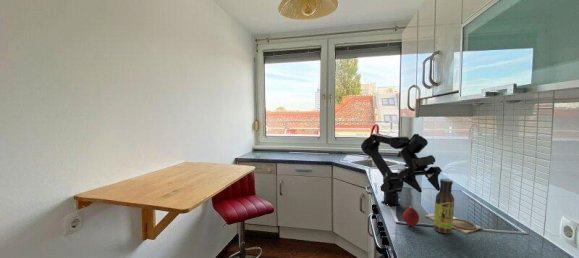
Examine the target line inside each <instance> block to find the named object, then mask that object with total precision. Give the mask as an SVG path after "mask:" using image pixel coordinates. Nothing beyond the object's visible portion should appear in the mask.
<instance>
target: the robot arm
mask: <svg viewBox="0 0 579 258" xmlns="http://www.w3.org/2000/svg"><path fill="white" fill-rule="evenodd" d="M409 138H410V139H409ZM381 143H382V144H384V145H385V144H386V145H389V146H390V147H391V148H393V149H395V150H398V152H397V158H402V159H403V161H404V163H405V164H404V167H403V168H402V169H401V170H400V171H399V172H397V171H396V172H395V171H394V172H393V171H392V170H391V168H390V166H388V164H387V162H386V161H385V159H384V158H383V157H382V155H381V154H380V151H379V149H380V145H381ZM428 143H429V142H428V140H427V139H426V138H424V137H423V136H421V135H420V134H419V133H414V134H413V135H412V137H408V136H391V135H385V134H382V133H372V134H370V135H369V136H368V137H367V138H365V139H364V140H363V142H362V143H361V145H360V148H361V150H362V152H363V154H365V155H366V156H369V157H370V158H371V160H372V161H373V163H374V164H375V166H376V168H377V169H378V172H380V173H381V176H382V182H383V183H382V184H381V185H380V191H381V192H383V200H381V201H380V202H381V203H382V202H383V203H382V204H384V203H385V204H384V205H386V204H388V205H390V206H389V207H395V206H394V205H396V206H399V205H401V203H399V198H400V197H399V193H402V191H403V188H404V183H405V184H407V185H408V186H409V187H411V188H413V189H415V190H416V191H417V193H422V191H423V190H422V188H421V186H420V184H419V182H418V180H417V179H416V178H417V176H424V177H425V178H427V181H428V182H429V183H430V184H431V186H433V188H434V189H435V190H436V191H438V192H440V180H439V176H440V175H441V173H442V172H443V171H442V169H441V168H440V166H431V165H434V164H435V163H436V158H435V157H434V156H433V154H430V155H427V156H422V157H418V155H417V154H419V153H421V152H422V151H423V150H424V149H425V148H426V147H427V146H428ZM429 166H430V167H429ZM427 168H428V169H427ZM388 205H387V206H388Z"/></svg>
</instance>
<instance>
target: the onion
mask: <svg viewBox="0 0 579 258" xmlns="http://www.w3.org/2000/svg"><path fill="white" fill-rule="evenodd" d="M408 207H409V208H407V209H405V210H404V211H403V213H402V218H403V221H404V222H405V223H406V224H407V225H408V226H409V227H413V226H415V225H416V224H418V223H419V221H420V215H419V213H418V211H417V210H416V209H414V207H412V206H408Z"/></svg>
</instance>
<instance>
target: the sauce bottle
mask: <svg viewBox="0 0 579 258" xmlns="http://www.w3.org/2000/svg"><path fill="white" fill-rule="evenodd" d="M453 183H454V181H453V180H451V179H450V178H440V180H439V186H440V190H439V191H438V192H437V194H436V196H435V200H434V213H433V214H434V220H433V229H434V230H435V231H437V232H439V233H442V234H451V233H452V232H453V228H452V226H453V217H454V213H455V198H454V195H453V194H452V192H453V191H452V186H453Z"/></svg>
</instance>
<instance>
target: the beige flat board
mask: <svg viewBox="0 0 579 258" xmlns="http://www.w3.org/2000/svg"><path fill="white" fill-rule="evenodd" d="M424 217H425V218H427V219H428V220H432V221H434V213H429V214H425V215H424ZM478 229H480V230H482V229H483V227H482V226H479V225H477V224H475V223H473V222H471V221H468V220H466V219H460V218H458V217H455V216H453V226H452V230H456V231H458V232H460V233H463V234H470V233H472V232H477V231H479V230H478ZM476 230H477V231H476ZM469 232H470V233H469Z"/></svg>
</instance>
